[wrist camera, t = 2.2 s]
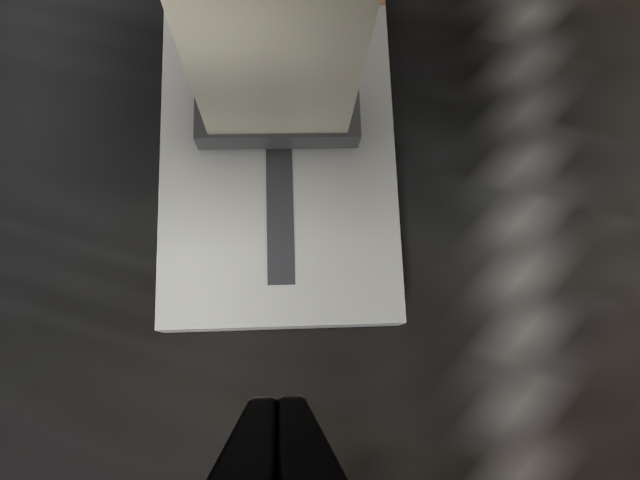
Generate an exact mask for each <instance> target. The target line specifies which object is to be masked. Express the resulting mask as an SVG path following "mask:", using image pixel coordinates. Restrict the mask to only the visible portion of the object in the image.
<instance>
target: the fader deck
mask: <svg viewBox="0 0 640 480" xmlns="http://www.w3.org/2000/svg"><path fill="white" fill-rule="evenodd" d="M359 97H360V116H361V135H362V137H361V140H360V143H359V146H358V148H326V149H239V150H198V148H197V146H196V144H195V141H194V139H193V126H194V94H193V91H192V89H191V86H190V83H189V80H188V77H187V74H186V72H185V69H184V66H183V63H182V60H181V57H180V55H179V52H178V49H177V46H176V43H175V40H174V38H173V35H172V32H171V29H170V26H169V23H168V21H167V18H166V15H165V12H164V27H163V61H162V96H161V130H160V165H159V199H158V233H157V268H156V302H155V331H159V332H163V333H172V332H205V331H238V330H271V329H303V328H336V327H369V326H399V325H402V324H404V323H406V309H405V293H404V278H403V263H402V248H401V233H400V218H399V202H398V187H397V172H396V157H395V142H394V127H393V111H392V96H391V81H390V66H389V51H388V36H387V20H386V2H385V0H381V3H380V7H379V11H378V15H377V19H376V22H375V26H374V30H373V34H372V38H371V42H370V46H369V50H368V54H367V58H366V62H365V66H364V70H363V74H362V78H361V82H360V86H359Z"/></svg>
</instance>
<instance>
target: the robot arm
mask: <svg viewBox="0 0 640 480" xmlns="http://www.w3.org/2000/svg"><path fill="white" fill-rule="evenodd" d="M207 480H348V478H347V477H346V475H345V473H344V471H343V469H342V467H341V465H340V463H339V461H338V459H337V458H336V456H335V454H334V452H333V450H332V448H331V446H330V444H329V442H328V441H327V439H326V437H325V435H324V433H323V431H322V429H321V427H320V425H319V424H318V422H317V420H316V418H315V416H314V414H313V412H312V410H311V408H310V407H309V405H308V403H307V401H306V399H305V398H304V397H303V396H301V395H290V396H280V397H279V398H278V400H277V399H276V398H275V397H274V396H263V397H252V398H251V399H250V400H249V401H248V403H247V405H246V407H245V409H244V410H243V412H242V414H241V416H240V418H239V420H238V422H237V424H236V425H235V427H234V429H233V431H232V433H231V435H230V437H229V438H228V440H227V442H226V444H225V446H224V448H223V450H222V452H221V453H220V455H219V457H218V459H217V461H216V463H215V465H214V466H213V468H212V470H211V472H210V474H209V476H208V478H207Z"/></svg>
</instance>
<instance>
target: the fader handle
mask: <svg viewBox="0 0 640 480" xmlns="http://www.w3.org/2000/svg"><path fill="white" fill-rule="evenodd" d="M160 1H161V4H162V6H163V9H164V12H165V15H166V18H167V21H168V23H169V26H170V29H171V32H172V35H173V38H174V40H175V43H176V46H177V49H178V52H179V55H180V57H181V60H182V63H183V66H184V69H185V72H186V74H187V77H188V80H189V83H190V86H191V89H192V91H193V94H194V126H193V139H194V141H195V144H196V146H197V148H198V150H239V149H326V148H358V146H359V143H360V140H361V137H362V135H361V116H360V97H359V86H360V82H361V78H362V74H363V70H364V66H365V62H366V58H367V54H368V50H369V46H370V42H371V38H372V34H373V30H374V26H375V22H376V19H377V15H378V11H379V7H380V3H381V0H160Z"/></svg>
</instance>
